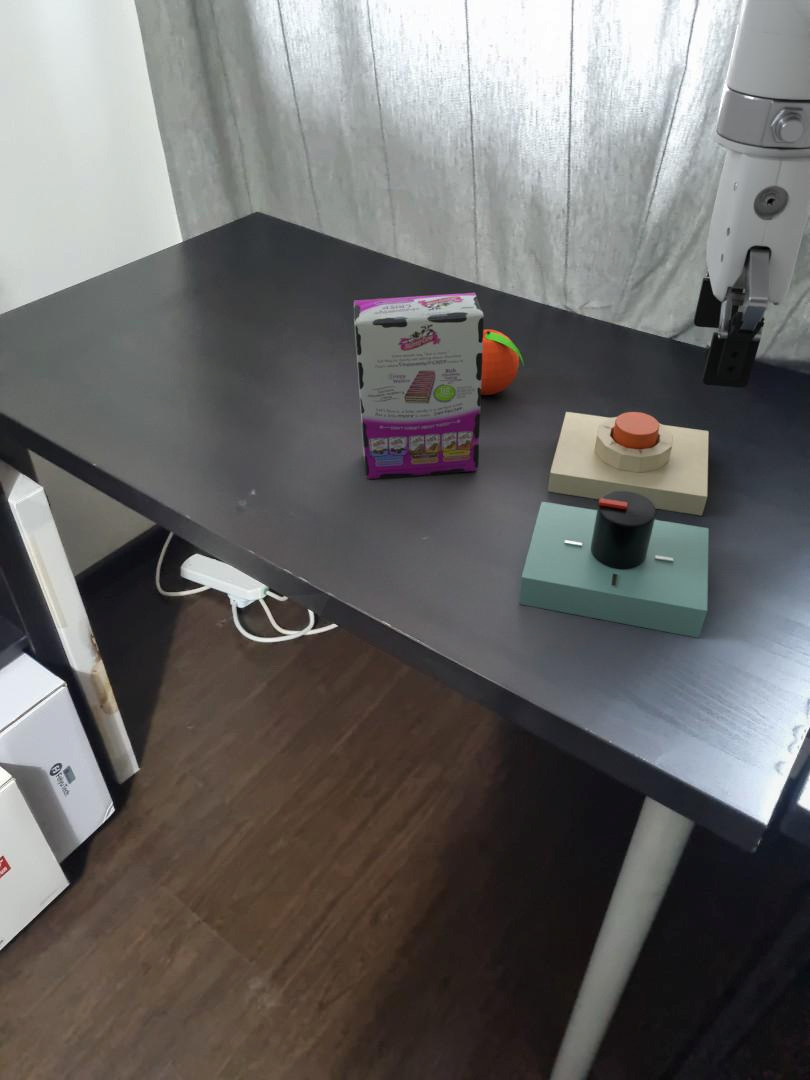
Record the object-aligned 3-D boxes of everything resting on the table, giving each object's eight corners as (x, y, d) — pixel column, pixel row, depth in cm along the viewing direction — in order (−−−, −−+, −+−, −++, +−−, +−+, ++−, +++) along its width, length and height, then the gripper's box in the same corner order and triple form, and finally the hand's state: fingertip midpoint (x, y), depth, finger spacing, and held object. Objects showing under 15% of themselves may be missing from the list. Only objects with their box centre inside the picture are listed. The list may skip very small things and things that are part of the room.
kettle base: (703, 449, 83) (712, 415, 80) (702, 516, 75) (712, 480, 72) (563, 429, 86) (568, 396, 83) (547, 491, 78) (552, 456, 75)
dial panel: (701, 555, 71) (709, 526, 69) (698, 638, 63) (708, 609, 61) (538, 527, 74) (541, 499, 72) (518, 604, 67) (521, 575, 64)
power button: (657, 430, 79) (660, 414, 78) (654, 453, 76) (658, 437, 75) (614, 424, 80) (617, 409, 79) (610, 447, 77) (613, 431, 76)
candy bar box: (470, 444, 84) (478, 290, 73) (478, 473, 80) (487, 314, 70) (361, 451, 83) (352, 296, 73) (363, 480, 79) (354, 322, 69)
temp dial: (647, 538, 68) (658, 492, 65) (644, 574, 65) (655, 526, 61) (593, 529, 69) (601, 483, 66) (587, 564, 66) (595, 517, 62)
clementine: (536, 389, 92) (542, 330, 87) (504, 416, 88) (509, 356, 83) (475, 369, 96) (478, 311, 91) (442, 394, 91) (443, 335, 87)
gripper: (867, 159, 47) (784, 415, 59) (814, 89, 60) (754, 310, 71) (731, 154, 49) (674, 406, 60) (708, 87, 61) (664, 304, 73)
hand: (718, 353), depth 66 cm, fingers open, 9 cm apart
